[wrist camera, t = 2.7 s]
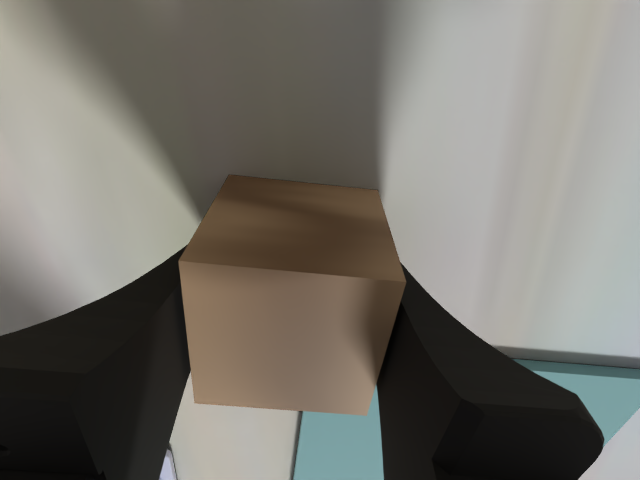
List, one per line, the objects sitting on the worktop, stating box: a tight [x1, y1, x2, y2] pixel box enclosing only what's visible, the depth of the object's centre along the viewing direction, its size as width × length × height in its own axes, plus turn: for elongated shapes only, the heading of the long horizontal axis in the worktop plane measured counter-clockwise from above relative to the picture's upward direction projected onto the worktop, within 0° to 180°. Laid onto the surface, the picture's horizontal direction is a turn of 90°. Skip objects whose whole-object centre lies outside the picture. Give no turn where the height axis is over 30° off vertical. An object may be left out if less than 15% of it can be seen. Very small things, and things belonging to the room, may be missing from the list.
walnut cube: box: [178, 175, 406, 416], centre depth 11 cm, size 5×5×5 cm
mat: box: [293, 359, 640, 480], centre depth 21 cm, size 16×16×1 cm
